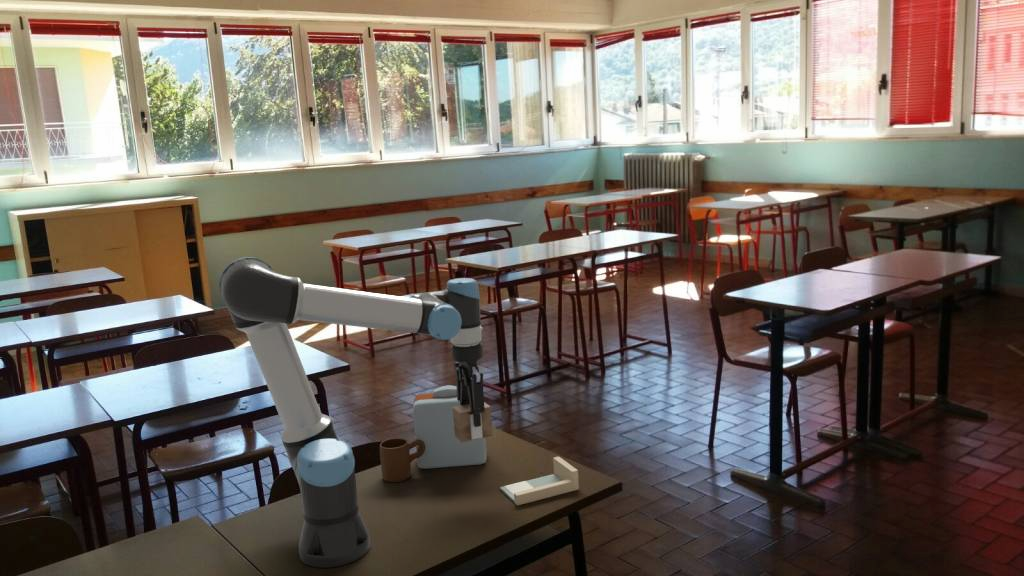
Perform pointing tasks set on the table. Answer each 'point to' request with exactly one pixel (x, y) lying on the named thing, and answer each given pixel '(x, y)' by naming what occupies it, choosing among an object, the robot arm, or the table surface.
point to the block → (463, 422)
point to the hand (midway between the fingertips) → (472, 434)
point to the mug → (398, 458)
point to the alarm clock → (443, 432)
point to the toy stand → (544, 484)
